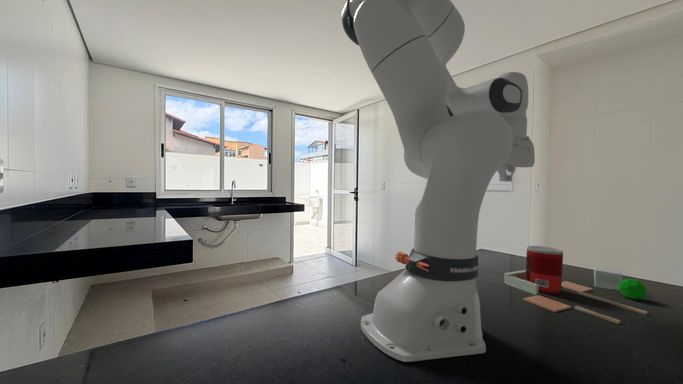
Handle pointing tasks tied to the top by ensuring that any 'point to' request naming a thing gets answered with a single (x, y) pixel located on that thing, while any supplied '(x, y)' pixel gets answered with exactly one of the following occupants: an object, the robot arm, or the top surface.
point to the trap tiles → (556, 305)
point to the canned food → (544, 268)
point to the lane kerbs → (609, 303)
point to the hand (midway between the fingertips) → (505, 181)
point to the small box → (607, 278)
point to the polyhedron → (632, 289)
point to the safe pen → (520, 281)
